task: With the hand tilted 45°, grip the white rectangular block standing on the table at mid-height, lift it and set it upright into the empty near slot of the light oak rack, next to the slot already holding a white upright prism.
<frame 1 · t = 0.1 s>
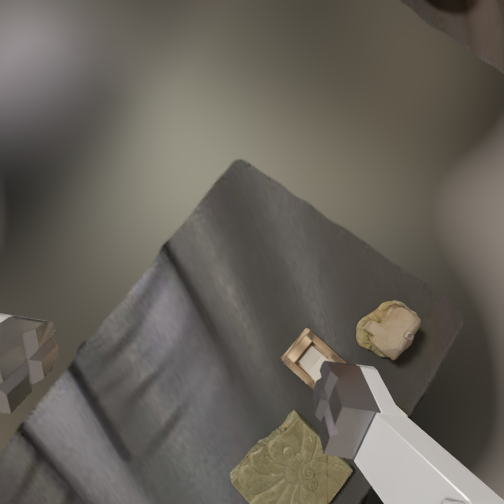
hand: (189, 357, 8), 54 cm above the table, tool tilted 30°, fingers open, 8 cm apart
white upright prism: (309, 357, 60), point 1 cm above the table, touching rack
decorative tile: (288, 466, 59), on the table
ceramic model: (383, 327, 63), on the table
rack: (321, 368, 61), on the table
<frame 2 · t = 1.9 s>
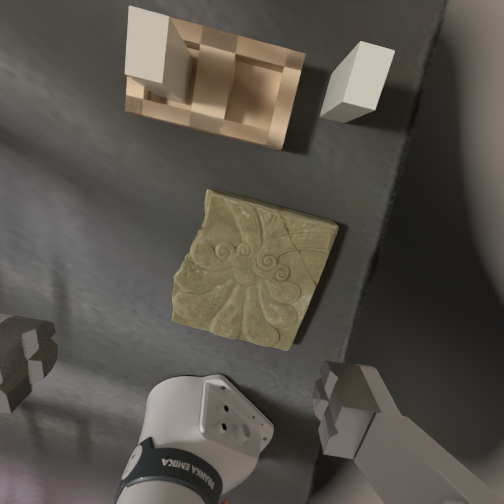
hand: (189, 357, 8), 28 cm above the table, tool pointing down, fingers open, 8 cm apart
white upright prism: (176, 78, 29), point 1 cm above the table, touching rack
decorative tile: (247, 268, 38), on the table
white rectangular block: (338, 99, 31), on the table
rack: (216, 91, 30), on the table
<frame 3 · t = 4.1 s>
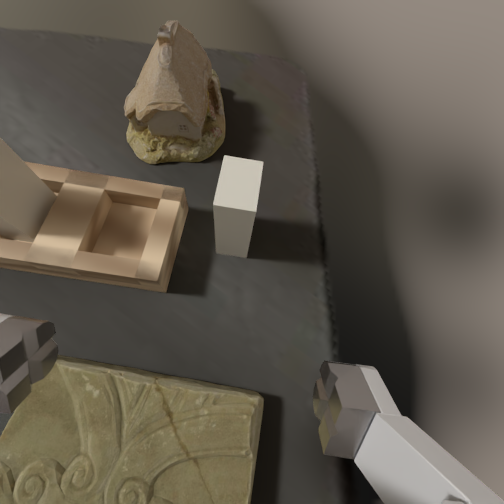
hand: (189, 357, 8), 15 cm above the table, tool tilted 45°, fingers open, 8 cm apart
white upright prism: (34, 218, 24), point 1 cm above the table, touching rack
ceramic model: (181, 124, 33), on the table
white rectangular block: (234, 235, 27), on the table
rack: (89, 233, 26), on the table
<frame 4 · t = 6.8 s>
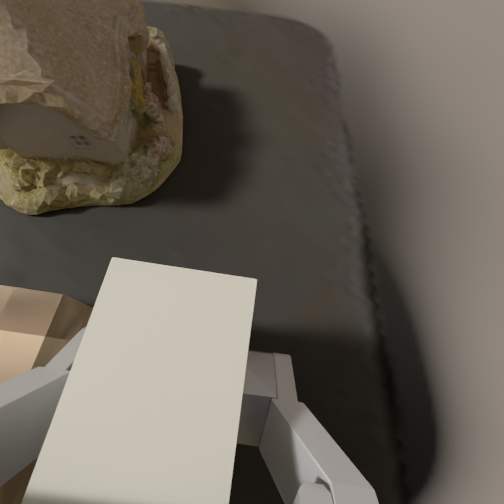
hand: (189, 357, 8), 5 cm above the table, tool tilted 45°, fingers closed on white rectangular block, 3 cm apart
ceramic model: (103, 130, 18), on the table
white rectangular block: (199, 374, 12), on the table, touching gripper
when the fingers open (8 cm above the table, at t = 11.2 s): white rectangular block drops 2 cm, resting on rack.
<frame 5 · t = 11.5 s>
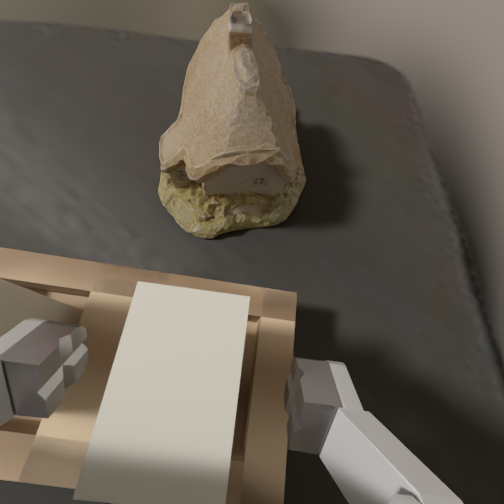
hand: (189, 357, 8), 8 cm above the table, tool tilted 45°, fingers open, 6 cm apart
white upright prism: (37, 350, 14), point 1 cm above the table, touching rack
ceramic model: (233, 164, 22), on the table
white rectangular block: (202, 372, 14), point 1 cm above the table, touching rack
rack: (130, 362, 15), on the table
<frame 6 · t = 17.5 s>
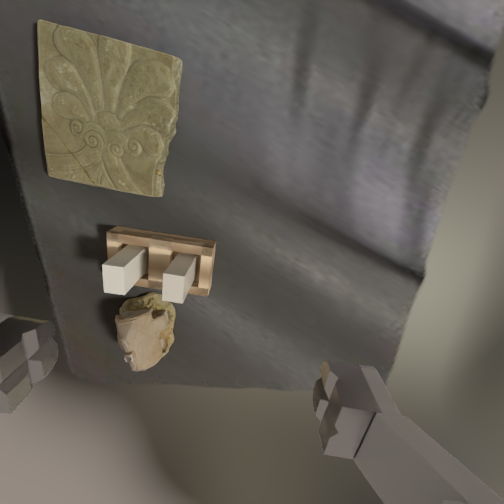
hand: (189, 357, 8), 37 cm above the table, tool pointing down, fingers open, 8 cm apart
white upright prism: (187, 264, 46), point 1 cm above the table, touching rack
decorative tile: (118, 121, 40), on the table
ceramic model: (151, 322, 53), on the table
white rectangular block: (138, 257, 46), point 1 cm above the table, touching rack
rack: (166, 257, 47), on the table
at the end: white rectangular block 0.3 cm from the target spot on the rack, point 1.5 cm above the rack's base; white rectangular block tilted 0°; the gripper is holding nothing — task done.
